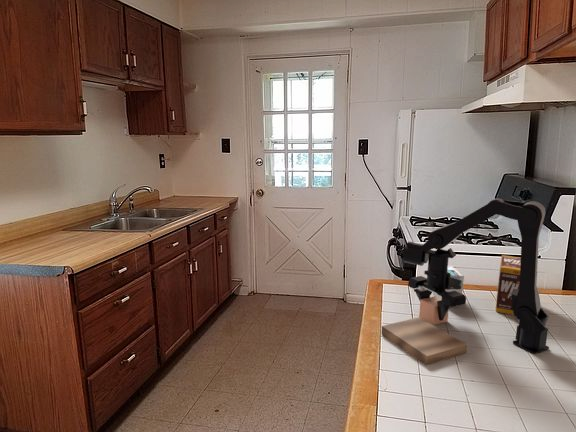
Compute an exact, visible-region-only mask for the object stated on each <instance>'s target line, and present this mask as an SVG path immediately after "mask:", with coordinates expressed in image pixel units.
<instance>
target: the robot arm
mask: <svg viewBox="0 0 576 432" xmlns="http://www.w3.org/2000/svg"><path fill="white" fill-rule="evenodd" d="M495 215H498V216H501V217H505V218H507V219H511V220H515V221H517V225H518V229H519V232H520V237H521V244H520V245H521V246H520V247H521V248H520V258H521V265H520V287H519V289H515V290H514V292H513V293H512V295H511V298H512V306H511V308H510V309H513V314H514V315H513V316H514V317H515V318H516V319H517V320H518V321H519V322H518V325H516V331H515V332H516V333H515V340H513V341H512V344H513V345H516V346H517V347H520V348H522V349H523V350H525V351H527V352H530V353H531V354H538V353H542V352H544V351H548V350H550V346H548V345H547V339H548V333H549V332H548V331H549V329H548V328H546V325H547V323H548V320H549V315H548V314H547V313H546V311H545V310H544V309H543V308H542V305H541V298H540V293H539V290H538V287H537V282H538V281H537V280H538V264H539V263H538V260H539V240H540V234H541V230H542V227H543V224H544V221H545V217H546V207H545V206H544V205H543V204H542V203H540V202H538V201H533V200H532V201H528V202H523V201H516V200H509V199H508V200H507V199H502V198H499V197H498V198H497V197H496V198H493V199H491V200H490V201H489V202H488V203H487V204H484V205H483V206H481V207H479V208H478V209H476V210H474V211H473V212H471V213H469V214H468V215H465V216H463V218H461V219H459V220H457V221H455V222H452V223H449V224H445V225H444V226H441V227H438V228H436V229H434V230H433V231H431V232H430V233H429V234H428V236H427V240H426V241H425V242H424V243H423V244H422V243H416V242H414V241H407V243H406V246H405V247H404V251H403V253H402V261H403V262H404V263H407V264H411V265H416V266H423V265H425V264H427V270H424V271H423V273H424V275H426V277H424V276H422V275H418V276H414V277H413V276H412V277H410V278H409V280H408V282H407V283H408V284H407V286H408V287H409V288H411V289H413V292H415V295H416V296H417V298H418V300H419V301H420V300H421V299H425V298H429V297H431V295H432V294H433V293H436V294H438V295H440V296H442V300H441V301H437V306H438V315H439V320H440V321H441V320H443V319H444V317H445V315H446V313H447V311H448V309H449V310H450V308H451V307H452V308H454V307H458V306H463V305H466V302H467V297H466V295H465V294H464V293H462V294H461V293H459V292H457V291H452V292H446V291H445V290H446V289H447V290H449V289H451V287H452V288H455V289H457V290H458V288H459V285H460V283H461V280H459V279H457V278H454V277H451V274H450V273H449V272H447V270H448V266H449V260H450V259H453V258H455V257H456V256H457V253H456V252H455V251H454V250H453V249H452V248H448V249H444V248H446V247H447V246H448V245H450V244H451V243H452V242H453V241H455V240H456V239H457V238H458V237H460V236H461V235H462V234H463V233H465V232H467V231H469V230H470V229H472V228H475V226H478V225H479V224H481V223H483V222H485V221H486V220H488V219H490V218H492V217H493V216H495ZM433 249H435V250H433ZM423 267H424V266H423Z"/></svg>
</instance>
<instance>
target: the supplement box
mask: <svg viewBox="0 0 576 432" xmlns="http://www.w3.org/2000/svg"><path fill="white" fill-rule="evenodd" d="M520 265H521V257H519V256H511V255H501V259H500V266H499V273H498V274H499V275H498V282H497V283H498V284H497V292H496V293H497V294H496V301H495V312H497V313H501V314H507V315H512V316H514V314H513V309H510V308H511V306H512V298H511V295H512V293H513V292H514V290H515V289H519V287H520Z"/></svg>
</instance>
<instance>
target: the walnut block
mask: <svg viewBox="0 0 576 432" xmlns="http://www.w3.org/2000/svg"><path fill="white" fill-rule="evenodd" d="M381 335H382V336H383V337H385V338H386V339H388V340H389V341H391V342H392V343H394V344H395V345H397V346H398V347H399V348H401V349H402V350H404V351H405V352H407V353H408V354H410V355H411V356H413V357H414V358H415V359H417V360H418V361H419V362H421V363H422V364H424V365H425V366H428V365H431V364H435V363H439V362H441V361H444V360H447V359H452V358H454V357H458V356H461V355H465V354H467V348H468V344H467V343H465V342H464V341H462V340H460V339H458V338H456V337H455V336H453V335H451V334H450V333H448V332H446V331H444V330H442V329H441V328H438V327H437V326H435V325H432V324H430V323H429V322H427V321H425V320H423V319H422V318H420V317H419V316H418V317H414V318H409V319H406V320H402V321H398V322H393V323H389V324H384V325H381Z"/></svg>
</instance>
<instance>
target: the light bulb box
mask: <svg viewBox="0 0 576 432" xmlns="http://www.w3.org/2000/svg"><path fill="white" fill-rule="evenodd" d="M447 272H449V273H450V274H451V277H454V278H457V279H459V280H461V283H460V285H459V288H458V290H457V289H455V288H452V287H451V289H449V290H447V289H446V290H445V291H446V292H452V291H457V292H459V293H461V294H463V291H464V290H463V289H464V281H465V279H464V278H465V276H464V274H463V273H461V272H460V271H459V270H457V268H455V267H454V266H453V265H448V270H447ZM432 294H433V296H435V297H437V298H439V299H441V300H442V296H440V295H438V294H436V293H433V292H432Z"/></svg>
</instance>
